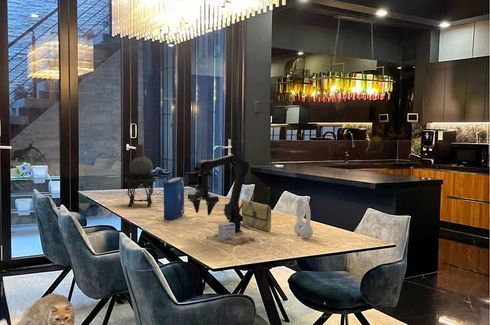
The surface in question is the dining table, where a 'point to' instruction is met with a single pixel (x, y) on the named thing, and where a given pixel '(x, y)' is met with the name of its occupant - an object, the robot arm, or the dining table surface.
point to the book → (173, 198)
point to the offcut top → (240, 238)
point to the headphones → (301, 226)
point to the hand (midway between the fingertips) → (202, 214)
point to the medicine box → (226, 231)
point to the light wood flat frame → (213, 237)
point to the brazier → (140, 175)
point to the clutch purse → (256, 215)
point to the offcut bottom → (241, 242)
